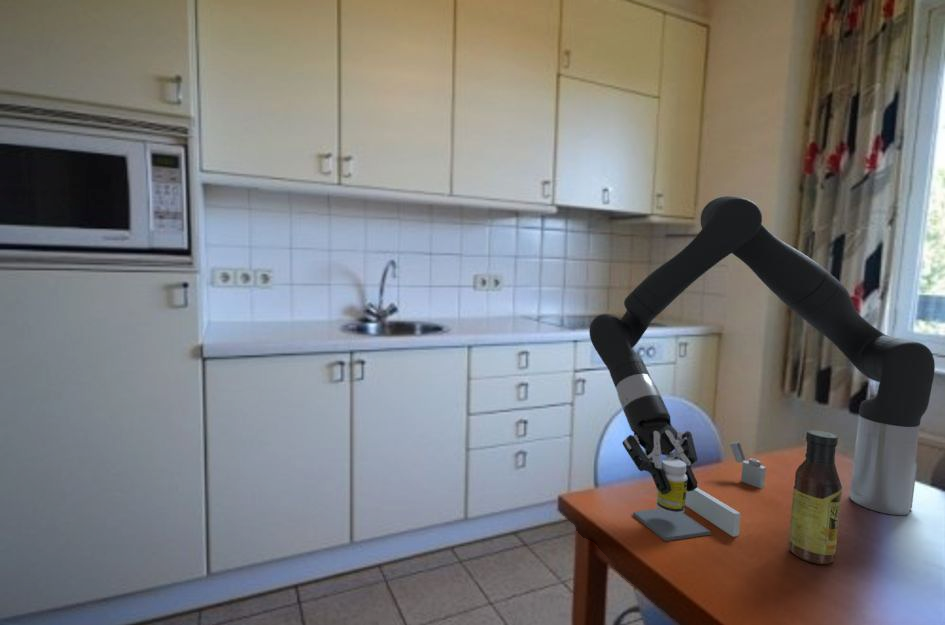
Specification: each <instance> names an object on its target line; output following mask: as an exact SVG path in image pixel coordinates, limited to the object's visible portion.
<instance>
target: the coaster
mask: <svg viewBox="0 0 945 625" xmlns="http://www.w3.org/2000/svg"><path fill="white" fill-rule="evenodd" d="M632 516H633V517H634V518H636V519H637V520H638V521H640V522H641V523H642V524H643V525H645V526H646V527H647V528H649V529H650V530H651V531H652V532H654V534H656V535H657V536H658V537H660V538H661V539H662V540H663V541H665V542H667V541H668V542H669V541H674V540H675V541H676V540H682V539H688V538H695V537H701V536H710V535H711V530H709V529H708V528H706V527H705V526H703V525H702V524H701V523H700V522H698V521H696V520H695V519H694V518H692V517H691V516H689V515H687V514H686V513H685V512H683V513H682V514H669V513H666V512H663V511H661V510H660V509H659V508H653V509H646V510H639V511H633V512H632Z"/></svg>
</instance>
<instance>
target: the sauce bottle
mask: <svg viewBox="0 0 945 625" xmlns="http://www.w3.org/2000/svg"><path fill="white" fill-rule="evenodd" d="M805 435H806V437H805V441H806V443H807V444H806V451H805V452H806V453H805V459H804V461H802V463H801V464H799V466H798V467H797V468H796V472H795V479H794V486H793V490H792V491H793V492H792V499H791V500H792V502H791V511H790V512H791V513H790V521H789V522H790V525H789V535H788V539H789V544H788V548H789V550H790V552H791V553H792V554H794V556H796V557H797V558H800V559H802V560H803V561H807V562H810V563H812V564H817V565H829V564H831V563H832V562H833V561H834V558H835V554H836V552H837V543H838V542H837V541H838V532H839V525H840V524H839V523H840V513H841V501H842V494H843V493H842V492H843V491H842V490H843V487H842V483H841V480H840V476H839V474H838V469H837V466H836V462H835V461H836V460H835V457H836V447H837V446H838V439H839V437H838V435H837V434H834V433H831V432H827V431H824V430H815V429H814V430H813V429H811V430H807V431H806V434H805Z"/></svg>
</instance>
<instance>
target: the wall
mask: <svg viewBox="0 0 945 625" xmlns="http://www.w3.org/2000/svg"><path fill="white" fill-rule="evenodd" d="M685 507H687V508H688V509H691V510H692V511H693V512H695V513H696V514H698V515H699V516H701V517H702V518H704V519H706V520H707V521H708V522H710V523H711V524H713V525H715V526H716V527H718V528H719V529H721V531H723V532H725V533H726V534H727V535H730V536H731V537H732V538H733V537H738V536H739V534H740V523H741V522H740V521H741V513H740V512H739V511H737V510H736V509H735V508H732V507H731V506H729V505H727V504H726V503H724V502H722V501H721V500H719V499H717V498H716V497H714V496H713V495H710V494H709V493H708V492H705V491H704V490H702V489H700V488H699V487H697V488H696V489H695V490H693V491H687V490H686V502H685Z"/></svg>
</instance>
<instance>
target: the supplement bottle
mask: <svg viewBox="0 0 945 625" xmlns="http://www.w3.org/2000/svg"><path fill="white" fill-rule="evenodd" d="M660 469H663V470H664V473H665V475H666V477H667V480H668V482H669V484H670V487H671V491H670V492H668V493H667V494H661V492H660V491H659V490H658V489H657V488H656V500H655V501H656V502H655V506H656V507H657V509H660V510H661V511H663V512H666V513H669V514H682V513H685V510H686V505H685V502H686V490H687V476H686V474H685V473H686V463H684V462H683V461H681V460H680V459H679V460H677V459H671V458H667V457H666V458H663V459H662V460H661V468H660Z"/></svg>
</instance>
